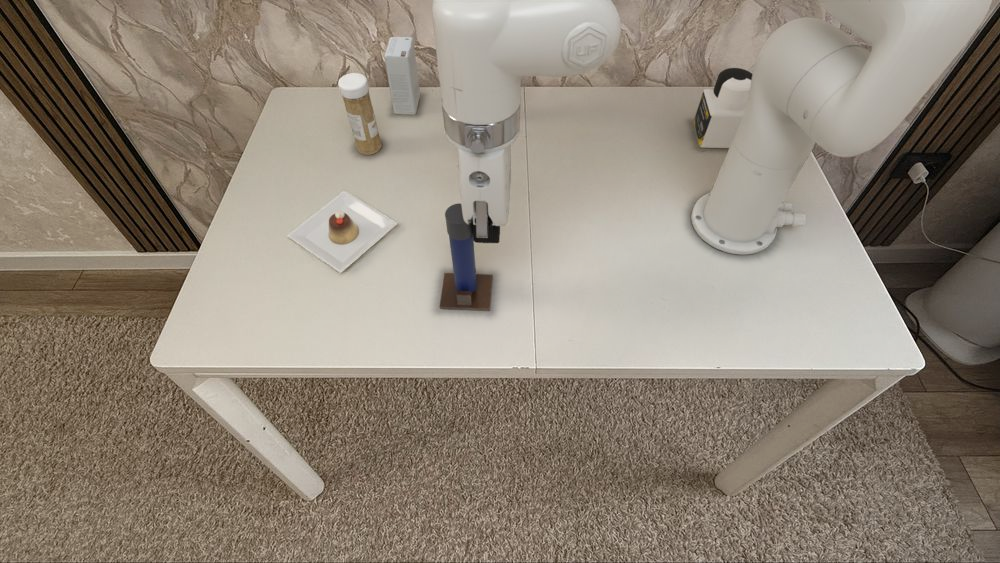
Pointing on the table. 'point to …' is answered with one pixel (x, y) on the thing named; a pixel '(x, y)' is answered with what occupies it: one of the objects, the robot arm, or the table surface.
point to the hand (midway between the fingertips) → (486, 237)
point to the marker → (461, 249)
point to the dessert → (342, 230)
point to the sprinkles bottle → (360, 112)
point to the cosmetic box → (402, 75)
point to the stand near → (466, 294)
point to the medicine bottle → (722, 108)
